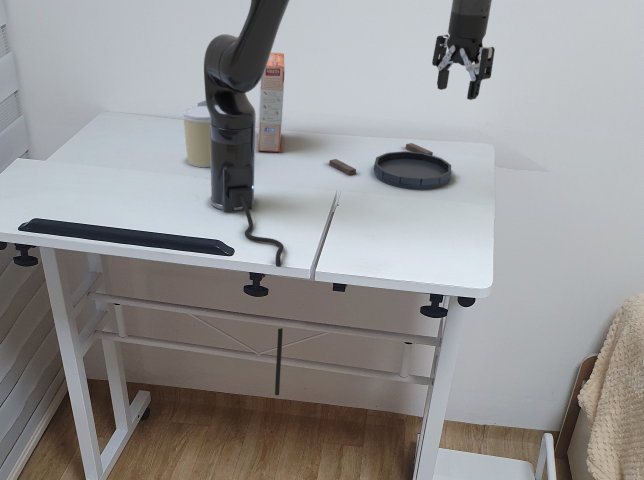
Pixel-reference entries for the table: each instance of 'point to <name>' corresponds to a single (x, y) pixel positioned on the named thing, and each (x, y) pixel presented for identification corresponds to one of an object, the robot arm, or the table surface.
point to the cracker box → (271, 104)
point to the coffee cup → (197, 135)
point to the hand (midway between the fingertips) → (456, 93)
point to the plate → (412, 170)
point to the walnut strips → (351, 170)
